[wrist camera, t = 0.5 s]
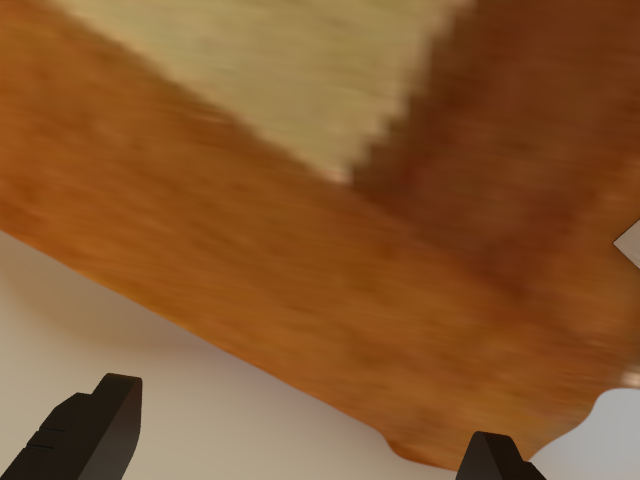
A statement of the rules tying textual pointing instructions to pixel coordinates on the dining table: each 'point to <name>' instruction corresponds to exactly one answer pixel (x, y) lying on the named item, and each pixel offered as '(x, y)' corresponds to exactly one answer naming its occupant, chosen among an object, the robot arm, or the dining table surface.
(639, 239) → the milk
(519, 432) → the dining table surface
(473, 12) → the dining table surface
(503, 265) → the dining table surface
